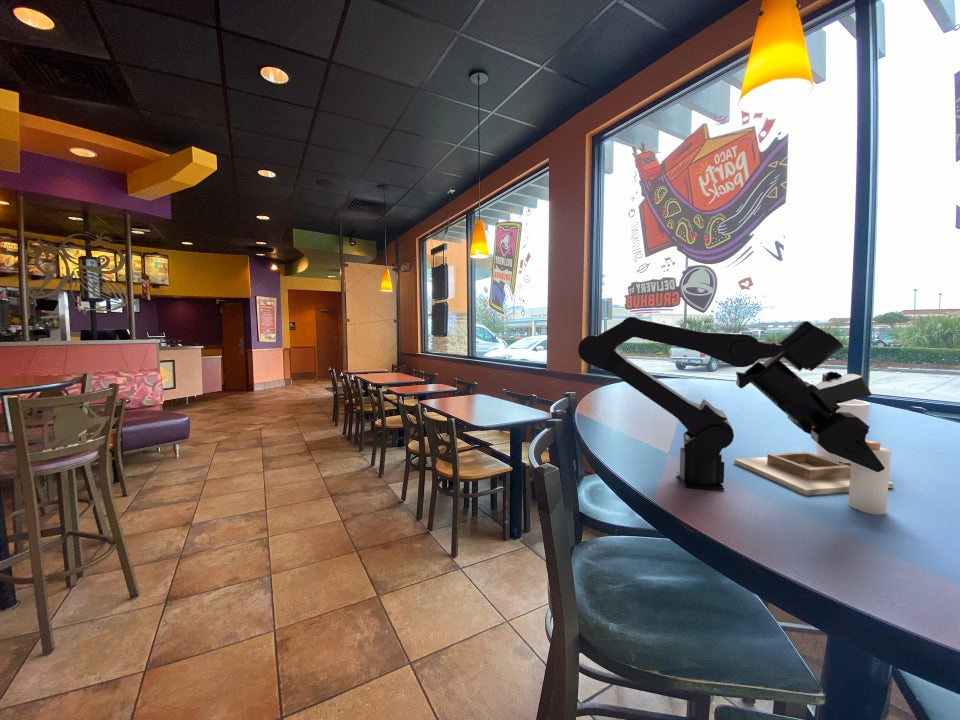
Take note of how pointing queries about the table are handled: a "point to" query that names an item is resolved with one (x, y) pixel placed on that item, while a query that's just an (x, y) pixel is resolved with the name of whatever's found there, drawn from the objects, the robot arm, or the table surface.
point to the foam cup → (856, 409)
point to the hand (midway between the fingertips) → (867, 460)
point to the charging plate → (802, 472)
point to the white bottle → (870, 483)
